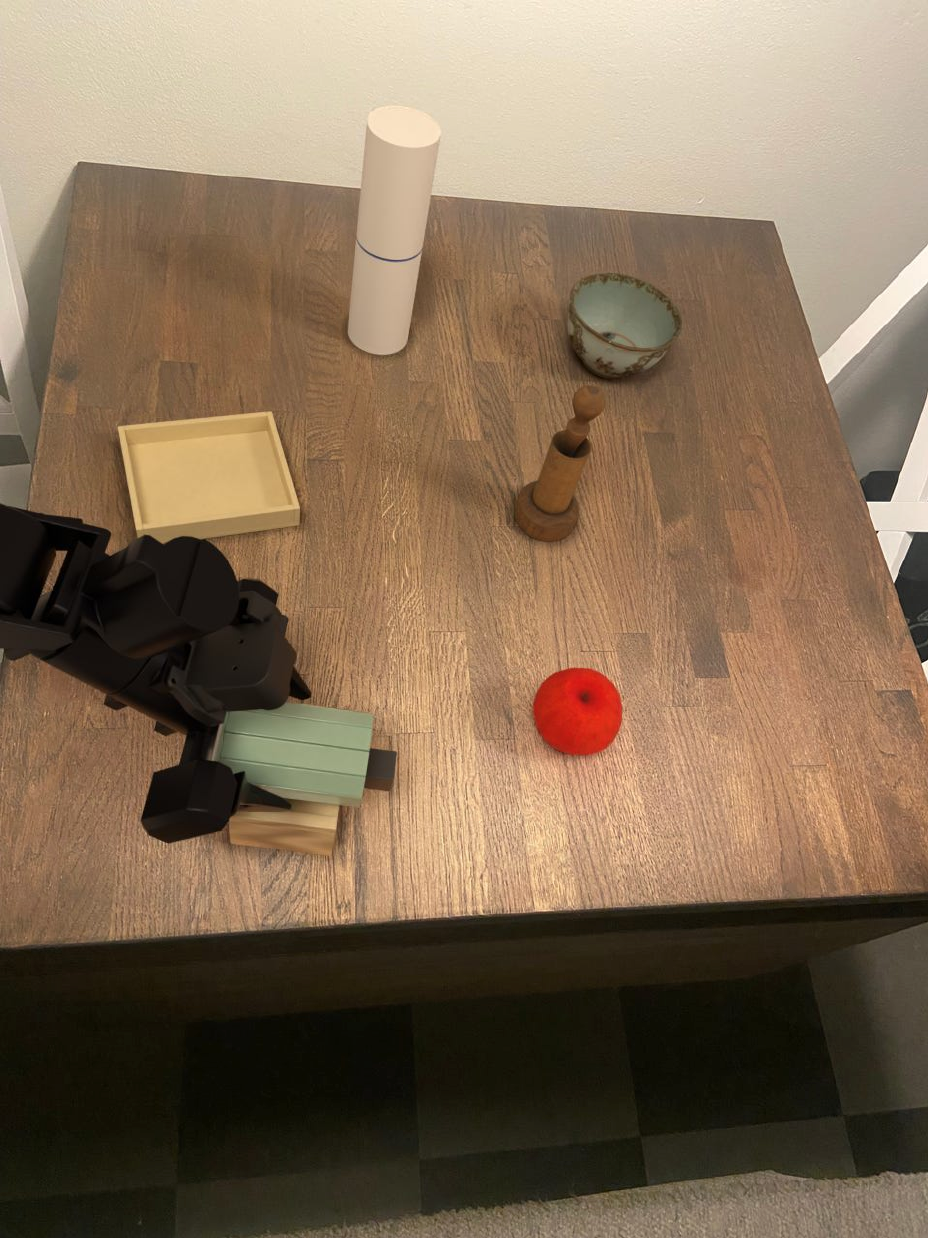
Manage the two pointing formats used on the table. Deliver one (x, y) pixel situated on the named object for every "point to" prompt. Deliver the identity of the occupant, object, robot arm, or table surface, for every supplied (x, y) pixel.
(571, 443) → the mortar and pestle
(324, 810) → the wooden block
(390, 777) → the black block
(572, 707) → the apple
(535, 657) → the table surface
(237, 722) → the grooved sage-green cylinder
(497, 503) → the table surface
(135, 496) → the tray
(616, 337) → the bowl
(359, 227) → the cylindrical container
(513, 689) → the table surface
